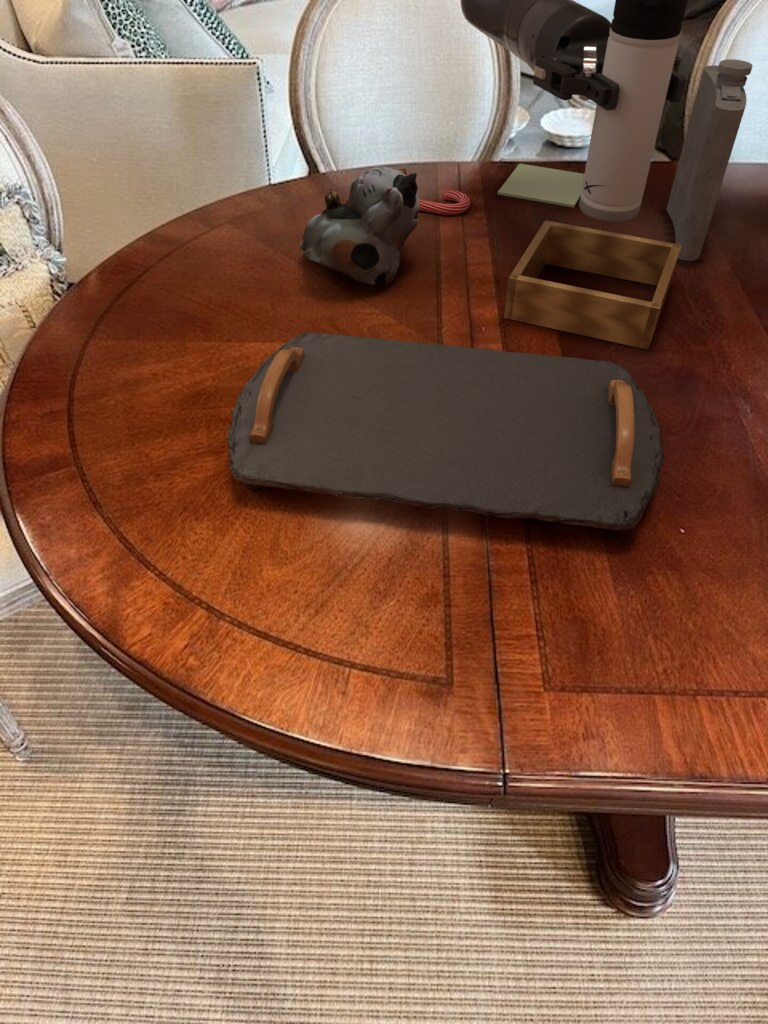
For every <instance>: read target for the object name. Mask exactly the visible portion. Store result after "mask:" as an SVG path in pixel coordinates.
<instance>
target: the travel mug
mask: <svg viewBox="0 0 768 1024" xmlns="http://www.w3.org/2000/svg"><path fill="white" fill-rule="evenodd" d="M688 2H689V0H615V2H614V7H613V13H612V16H613V18H612V20H611V27H610V32H609V33H610V36H609V38H608V43H607V49H606V54H605V60H604V66H603V71H602V74H603V75H604V76H606V77H607V78H609V79H611V80H612V81H614V82H616V83H617V84H618V85H619V88H620V90H619V96H618V101H617V106H616V109H615V110H608V111H607V110H605V109H604V108H602V107H601V106H599V105H597V104H596V107H595V112H594V118H593V123H592V128H591V134H590V141H589V147H588V151H587V158H586V163H585V167H584V173H583V174H584V180H583V185H582V192H581V197H580V198H579V201H578V202H579V203H578V206H579V209H580V211H581V212H582V213H583V214H584V215H585V216H587V217H589V218H591V219H594V220H596V221H601V222H606V223H619V222H626V221H629V220H632V219H634V218H635V217H637V216H638V214H640V210H641V206H642V201H643V197H644V193H645V189H646V185H647V180H648V176H649V173H650V172H649V171H650V167H651V163H652V159H653V155H654V150H655V146H656V141H657V137H658V133H659V129H660V125H661V120H662V116H663V112H664V108H665V103H666V100H667V99H666V95H667V91H668V87H669V82H670V78H671V74H672V69H673V65H674V61H675V57H676V55H677V52H678V48H679V43H680V42H679V40H680V38H681V36H682V28H683V23H682V22H684V19H685V15H686V11H687V6H688Z"/></svg>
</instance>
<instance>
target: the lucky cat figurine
mask: <svg viewBox="0 0 768 1024" xmlns="http://www.w3.org/2000/svg"><path fill="white" fill-rule="evenodd" d="M417 177H418V174H417V172H412V173H409V174H408V173H407V169H406V168H404V167H403V168H400V169H395V168H393V167H388V166H383V167H378V166H374V167H371V168H370V169H369V170H367V171H366V172H365V173H363V174H360V175H359V176H357V177H355V178H354V179H353V181H352V182H351V184H350V188H349V194H348V200H346V201H345V203H344V204H343V203H342V202H341V200H340V196H339V194H338V193H337V192H336V191H333V190H329V192H328V193H327V194H325V196H324V201H325V209H323V210H322V212H321V213H319V214H316V215H314V216H312V218H311V219H310V220H309V221H308V222H307V224H306V225H305V228H304V232H303V235H302V242H300V243H299V246H298V248H299V249H300V250H302V252H303V254H302V256H303V257H305V258H306V259H307V260H308V261H311V262H313V263H315V264H317V265H319V266H323V267H325V268H328V269H331V270H334V271H337V272H340V273H342V274H344V275H346V276H347V277H349V278H351V279H353V280H355V281H357V282H359V283H363V284H368V285H372V286H376V285H379V286H380V287H381V288H382V287H388V286H389V285H390V284H391V283H392V282H394V279H395V277H396V275H397V272H398V270H399V268H400V263H401V253H402V248H403V246H404V244H405V242H406V241H407V240H408V238H409V237H410V235H411V234H412V233H413V232H414V230H415V229H416V228H417V227H418V224H419V220H420V219H419V218H418V214H419V211H420V210H419V209H420V204H419V203H420V200H421V199H420V198H419V195H418V193H417V192H418V188H419V187H418V184H417V181H416V180H417Z"/></svg>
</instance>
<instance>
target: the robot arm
mask: <svg viewBox="0 0 768 1024" xmlns="http://www.w3.org/2000/svg"><path fill="white" fill-rule="evenodd" d="M460 9H461V12H462V15H463V18H464V19H465V21H466V22H467V23H468V24H469V25H471V26H472V27H474V29H477V30H478V31H479V32H481V33H482V34H483V35H484V36H486V37H488V38H489V39H491V40H492V41H493V42H495V43H496V44H497V45H499V46H500V47H502V48H503V49H505V50H507V51H510V52H511V53H512V54H513V55H514V56H515V57H517V58H518V59H519V60H520V61H522V62H524V63H526V64H527V66H528V68H530V69H531V71H533V79H532V80H533V81H532V84H533V85H535V86H537V87H538V88H539V89H541V90H543V91H545V92H547V93H549V94H551V95H553V96H554V97H556V98H558V99H560V100H562V101H570V100H572V99H573V96H578V99H579V100H581V101H586V102H587V101H592V102H593V103H594V104H595V105H596V106H597V105H599V106H601V107H602V108H604V109H605V110H607V111H608V110H615V109H616V106H617V101H618V96H619V90H620V88H619V85H618V84H617V83H616V82H614V81H612V80H611V79H609V78H607V77H606V76H604V75H603V74H602V71H603V66H604V60H605V54H606V49H607V43H608V38H609V36H610V33H609V32H610V27H611V24H612V21H610V20H609V19H608V18H607V17H605V16H604V15H602V14H600V13H598V12H596V11H594V10H592V9H590V8H589V7H586V6H584V5H583V4H580V3H579V2H577V1H575V0H460ZM681 62H682V57H680V56H679V55H677V54H676V57H675V61H674V65H673V69H672V74H671V78H670V82H669V87H668V91H667V95H666V99H665V100H666V101H668V102H670V103H678V102H680V101H681V100H682V97H683V95H684V90H685V87H686V82H687V78H686V77H685V76H684V75H683V74H681V73H679V67H680V65H681Z"/></svg>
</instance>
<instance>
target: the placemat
mask: <svg viewBox="0 0 768 1024" xmlns="http://www.w3.org/2000/svg"><path fill="white" fill-rule="evenodd" d="M584 174H585V173H580V172H575V171H570V170H563V169H558V168H557V169H556V168H550V167H544V166H538V165H532V164H525V163H519V164H517V166H516V167H515V168H514V170H513V171H512V172H511V174H510V175H509V176H508V178H507V179H506V180H505V182H504V183H503V184H502V186H501V187H500V188H499V189H498V191H497V194H496V195H497V196H504V197H510V198H516V199H520V200H521V199H522V200H525V201H526V200H527V201H533V202H538V203H545V204H549V205H556V206H561V207H568V208H575V207H576V205H577V203H578V202H579V201H580V197H581V192H582V185H583V180H584Z"/></svg>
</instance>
